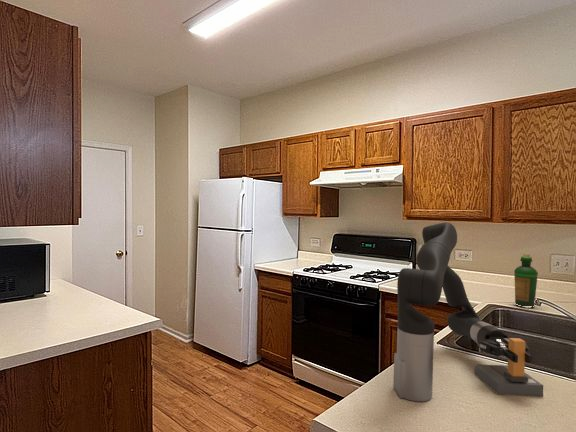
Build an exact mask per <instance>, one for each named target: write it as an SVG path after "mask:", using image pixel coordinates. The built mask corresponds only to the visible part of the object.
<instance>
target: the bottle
mask: <svg viewBox="0 0 576 432" xmlns="http://www.w3.org/2000/svg"><path fill="white" fill-rule="evenodd" d="M519 261H520V262H521V265H518V266H517V267H516V268H515V269H514V270H513V271H514V273H513V274H514V301H515V302H514V304H515V303H516V304H518V305H521V306H532V307H533V306H534V307H535V305H534V300H535V301H536V294H537V286H538V285H537V284H538V275H539V273H538V271H537V269H536V268H534V267H532V262H533V259H532V256H531V254H528V253H523V254H522V256H521V257H520V259H519ZM516 304H515V305H516ZM534 307H533V308H534Z"/></svg>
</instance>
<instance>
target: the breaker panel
mask: <svg viewBox="0 0 576 432" xmlns="http://www.w3.org/2000/svg"><path fill="white" fill-rule="evenodd" d="M504 371H508V364H507V365H506V364H505V365H504V364H501V365H500V364H474V375H475V376H477V377H478V378H479V379H480V380H481V381H482V382H483V383H485V384H486V385H487V386H488V387H489V388H490V389H491V390H492V391H493V392H494V393H496V394H497V395H498V396H499V395H500V396H527V397H528V396H529V397H530V396H531V397H532V396H533V397H543V396H544V384H542V383H540V382H539V381H538V380H536V379H535V378H533V377H532V376H531V375H529V374H528V373H526V372H525V371H524V375H525V376H526V377H528V382H512V381H510V380H509V379H508V378H506V377H505V376H504Z"/></svg>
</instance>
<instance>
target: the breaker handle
mask: <svg viewBox="0 0 576 432" xmlns="http://www.w3.org/2000/svg"><path fill="white" fill-rule="evenodd" d="M508 339H509V347H508V350H511V351H512V352H514V353H516V354H517V355H518V362H517V363H514V362H513V361H511V360H509V359H508V358H507V365H508V371H504V376H505V377H506V378H508V379H509V380H510V381H512V382H528V377H526V376H525V375H524V372H525V365H526V364H525V363H526V361H525V343H526V341H525V340H523V339H522V338H519V337H518V338H517V337H516V338H515V337H508Z"/></svg>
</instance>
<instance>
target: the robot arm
mask: <svg viewBox="0 0 576 432" xmlns="http://www.w3.org/2000/svg"><path fill="white" fill-rule="evenodd" d="M421 236H422V240H423V244H422V246H421V247H420V249H419V251H418V252H417V255H416V261H415V262H416V266H417V267H418V268H411V267H410V268H407V267H404V268H402V269H400V271H399V273H398V276H397V284H396V285H397V287H396V289H397V290H396V291H397V333H396V335H397V336H396V337H397V338H396V352H395V353H394V357H393V359H394V361H393V381H392V382H393V384H392V385H393V389H394V391H395V392H396V394H397V396H398V398H400V399H406V400H408V401H413V402H417V403H418V402H419V403H421V402H427V401H430V400H431V399H432V398H433V382H434V381H433V380H434V378H433V377H434V350H435V349H434V340H435V323H434V320H433V319H432V318H431V317H430V316H427V315H425V314H423V313H422V312H420V311H419V310H418V309H417V308H415V307H414V305H418V306H425V307H426V306H427V307H430V306H431V307H433V306H436V305H437V304H438V303H439V301H440V299H441V297H442V292H443V293H444V296H445V301H446V303H447V305H449V306H450V307H456V308H457V307H461V308H462V310H459V311H455V312H452V313H450V314H449V315H448V316H447V319H446V322H447V323H446V324H447V325H448V327H449V329H450V330H451V331H452V332H453V333H455V334H456V335H458V336H463V337H465V338H470V339H471V340H473V342H475V343H476V344H477V345H478V346H479V350H480V351H483V352H485V353H487V354H490V355H492V356H495V357H503V358H505V359H507V360H508V359H509V360H511V361H513V362H514V363H517V362H518V355H517V354H516V353H514V352H512V351H511V350H508V347H509V337H508V336H507V334H506V333H505V332H504V331H503V330H501V329H499V328H497V327H496V326H494V325H492V324H491V323H488V322H485V321H483V320H482V319H480V317H479V315H478V313H477V312H476V310H475V309H474V307H473V305H472V304H471V301H470V300H469V298H468V295H467V293H466V290H465V289H466V288H465V285H464V282H463V280H462V279H461V277H460V276H459V274H457V272H455V271H454V270H453V268H452V267H450V266H449V262H450V259H451V254H452V252H453V250H454V249H455V247H456V245H457V242H458V232H457V229H456V227H455V225H453V224H452V223H451V222H444V221H443V222H440V223H436V224H432V225H428V226H424V227H423V228H422V231H421ZM413 304H414V305H413ZM532 361H533V355H531V354H530V348H529V346H528V344H527V343H526V342H525V363H527V364H531V363H532Z"/></svg>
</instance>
